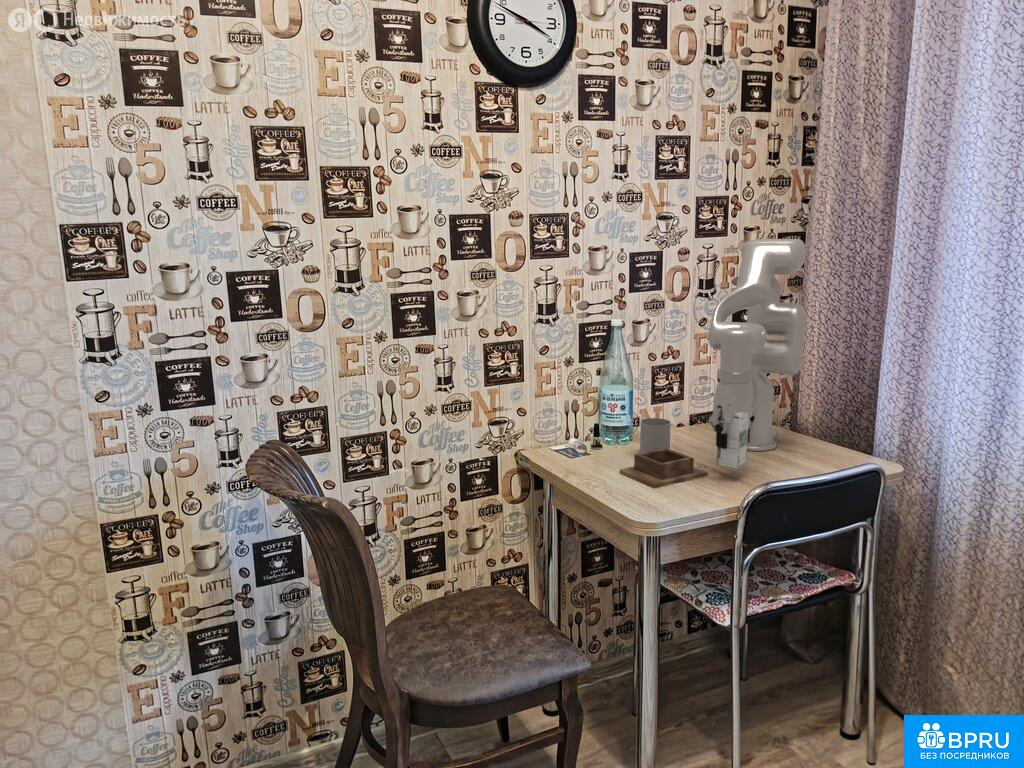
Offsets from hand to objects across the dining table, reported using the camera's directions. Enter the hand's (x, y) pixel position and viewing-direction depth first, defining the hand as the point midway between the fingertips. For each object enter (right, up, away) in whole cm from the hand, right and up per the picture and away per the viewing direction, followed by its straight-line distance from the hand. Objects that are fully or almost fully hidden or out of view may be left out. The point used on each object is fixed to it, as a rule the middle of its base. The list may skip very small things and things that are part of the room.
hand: (732, 444), depth 193 cm
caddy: (-17, -8, +5) cm, 19 cm away
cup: (-16, -5, +22) cm, 27 cm away
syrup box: (0, -5, +1) cm, 6 cm away
